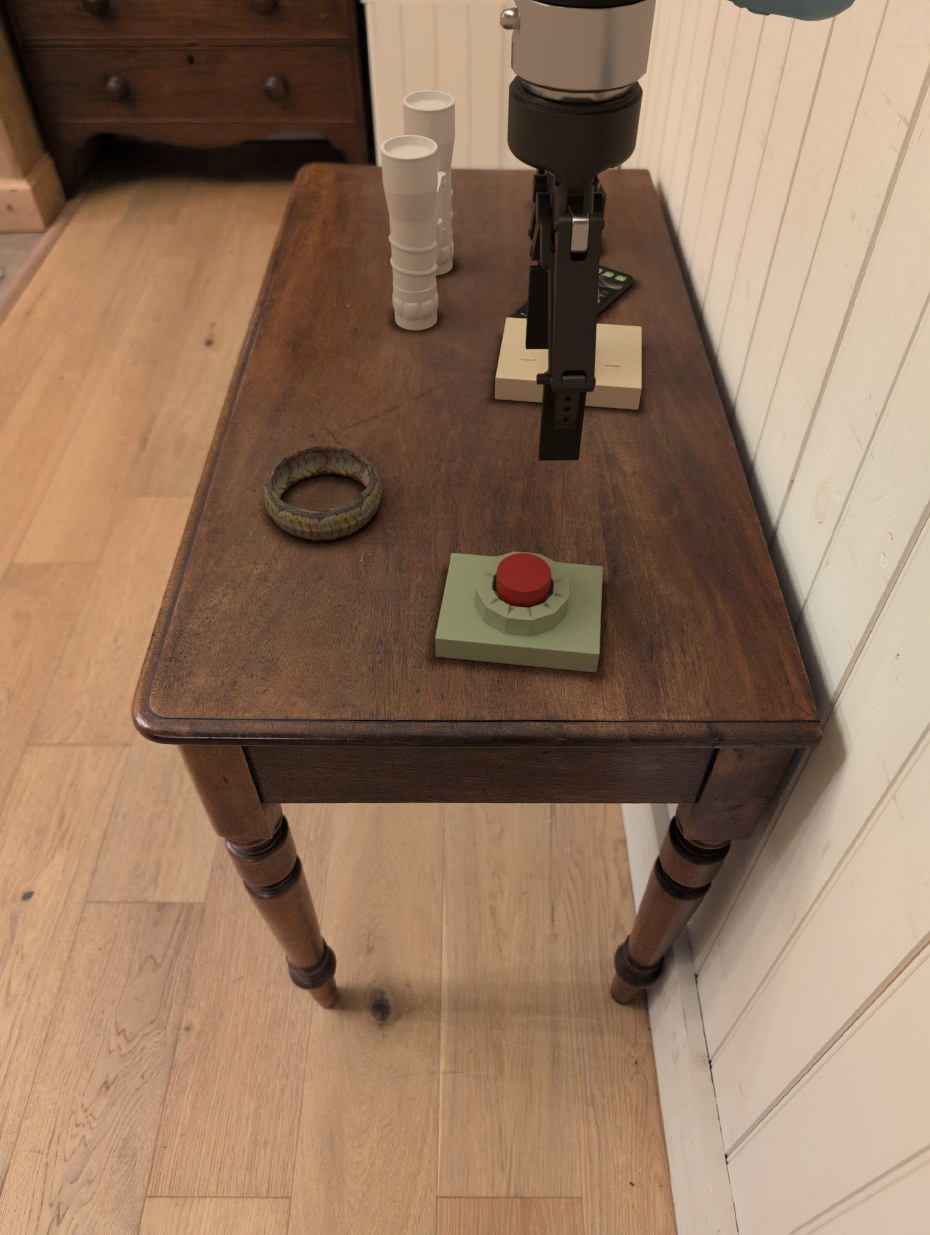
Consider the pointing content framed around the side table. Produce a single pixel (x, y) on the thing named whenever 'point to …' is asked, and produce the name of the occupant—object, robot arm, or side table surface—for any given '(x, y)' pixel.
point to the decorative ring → (317, 464)
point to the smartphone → (600, 289)
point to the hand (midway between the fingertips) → (550, 398)
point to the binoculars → (420, 204)
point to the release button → (523, 580)
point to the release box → (521, 617)
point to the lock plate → (612, 366)
